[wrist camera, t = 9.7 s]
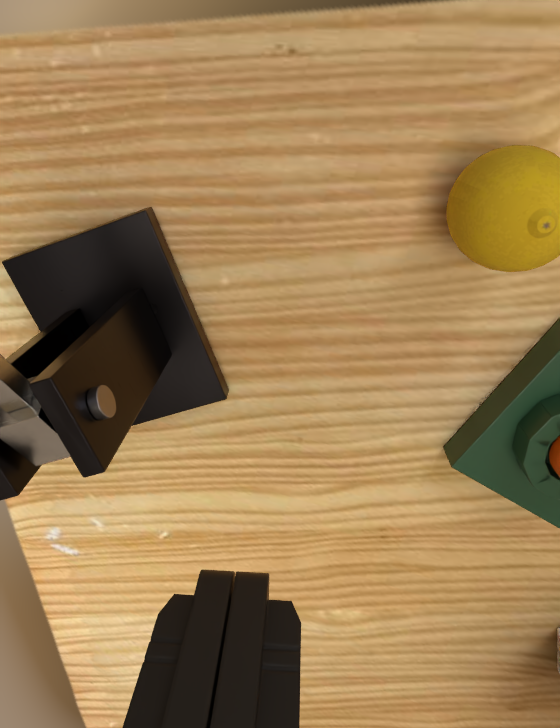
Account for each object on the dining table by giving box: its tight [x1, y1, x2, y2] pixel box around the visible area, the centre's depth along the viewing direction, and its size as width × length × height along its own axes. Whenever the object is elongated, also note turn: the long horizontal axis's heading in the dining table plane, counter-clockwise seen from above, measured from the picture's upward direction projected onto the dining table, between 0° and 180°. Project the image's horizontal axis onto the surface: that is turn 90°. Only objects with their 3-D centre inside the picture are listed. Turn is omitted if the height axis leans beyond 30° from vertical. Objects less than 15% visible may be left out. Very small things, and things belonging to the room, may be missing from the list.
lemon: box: [446, 145, 560, 272], centre depth 24 cm, size 6×6×8 cm
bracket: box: [0, 207, 229, 500], centre depth 26 cm, size 12×9×13 cm
